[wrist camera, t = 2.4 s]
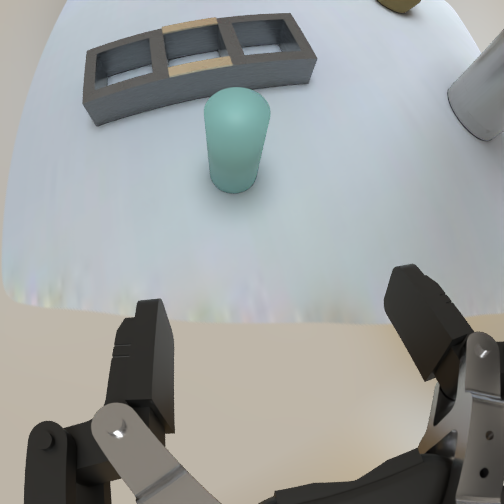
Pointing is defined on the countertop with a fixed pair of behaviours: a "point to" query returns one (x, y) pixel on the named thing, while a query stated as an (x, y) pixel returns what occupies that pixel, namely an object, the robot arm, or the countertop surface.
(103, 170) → the countertop surface
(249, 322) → the countertop surface
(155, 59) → the rail
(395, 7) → the squeeze bottle
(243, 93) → the peg
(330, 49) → the countertop surface
